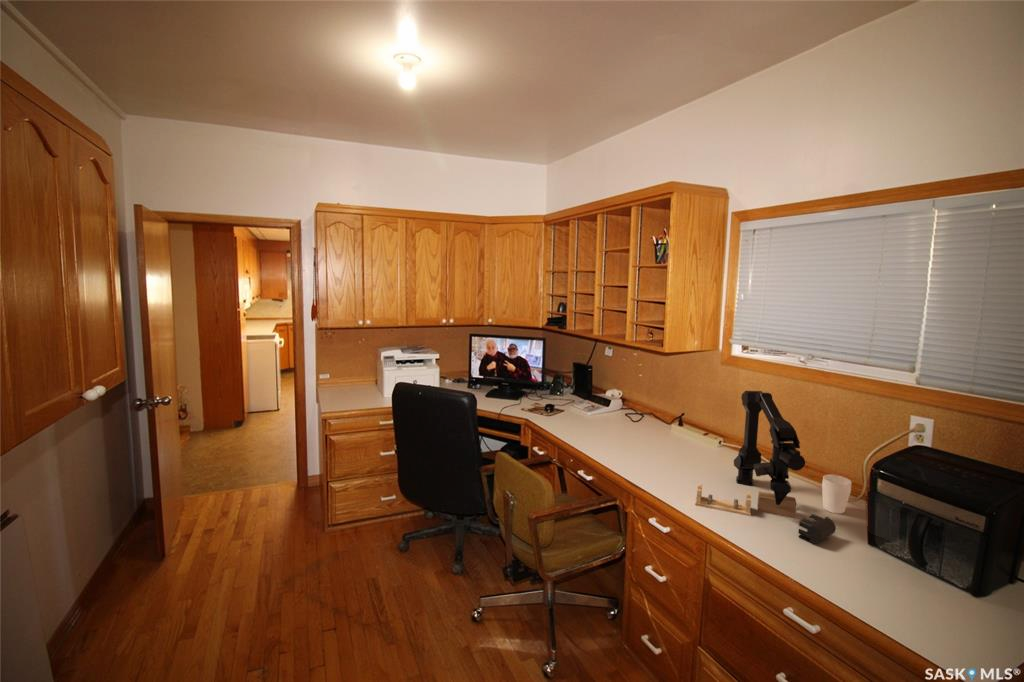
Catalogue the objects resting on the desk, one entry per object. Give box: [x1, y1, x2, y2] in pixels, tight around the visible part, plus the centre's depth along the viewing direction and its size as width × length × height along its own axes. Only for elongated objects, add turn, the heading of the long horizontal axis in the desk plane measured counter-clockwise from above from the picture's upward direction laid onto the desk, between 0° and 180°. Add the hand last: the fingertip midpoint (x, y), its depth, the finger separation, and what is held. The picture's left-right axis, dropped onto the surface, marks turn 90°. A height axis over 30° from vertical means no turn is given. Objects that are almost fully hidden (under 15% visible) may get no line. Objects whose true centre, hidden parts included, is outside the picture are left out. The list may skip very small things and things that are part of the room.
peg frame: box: [694, 483, 752, 517], centre depth 183 cm, size 7×19×6 cm, turn 65°
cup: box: [821, 474, 852, 515], centre depth 181 cm, size 9×9×12 cm
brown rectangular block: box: [756, 490, 798, 519], centre depth 179 cm, size 5×12×6 cm, turn 65°
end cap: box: [797, 513, 837, 545], centre depth 162 cm, size 10×7×7 cm
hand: (776, 499), depth 179 cm, fingers open, 9 cm apart
